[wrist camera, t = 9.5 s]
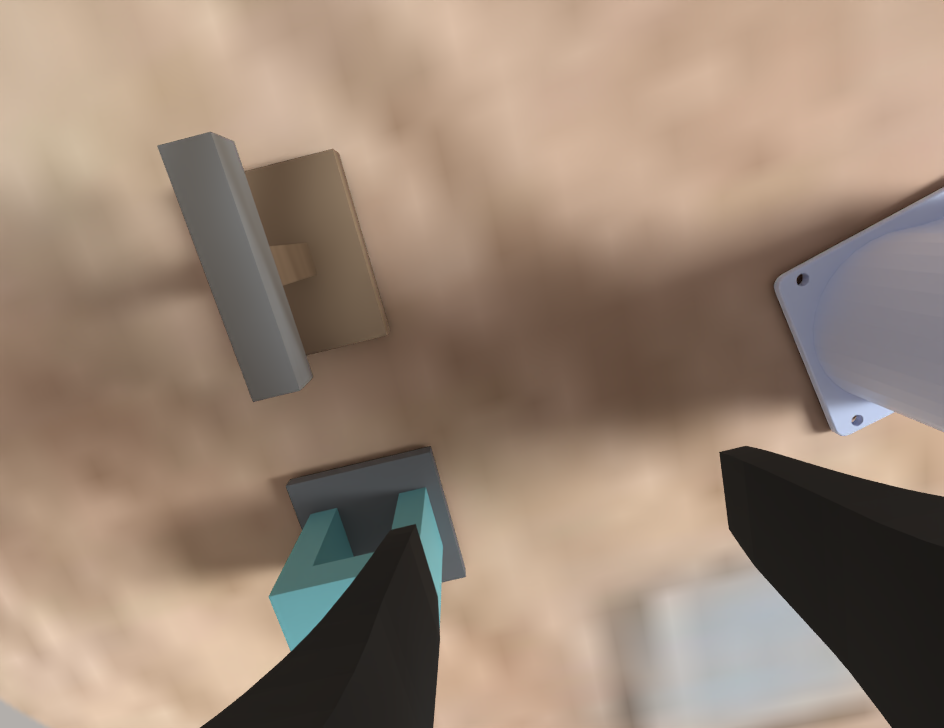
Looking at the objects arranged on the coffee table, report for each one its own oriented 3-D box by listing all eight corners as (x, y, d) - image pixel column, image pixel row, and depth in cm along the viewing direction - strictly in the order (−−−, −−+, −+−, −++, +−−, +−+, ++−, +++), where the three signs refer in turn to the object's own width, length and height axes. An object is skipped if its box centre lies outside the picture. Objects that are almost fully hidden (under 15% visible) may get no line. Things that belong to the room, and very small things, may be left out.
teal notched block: (425, 487, 22) (417, 562, 17) (442, 545, 23) (439, 634, 18) (310, 514, 22) (268, 596, 17) (331, 571, 23) (297, 666, 18)
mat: (430, 446, 22) (430, 451, 22) (465, 568, 24) (465, 577, 23) (290, 479, 23) (285, 486, 22) (334, 598, 24) (331, 607, 24)
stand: (339, 152, 19) (279, 114, 13) (389, 330, 21) (360, 375, 15) (211, 185, 19) (89, 163, 13) (273, 359, 21) (192, 416, 15)
